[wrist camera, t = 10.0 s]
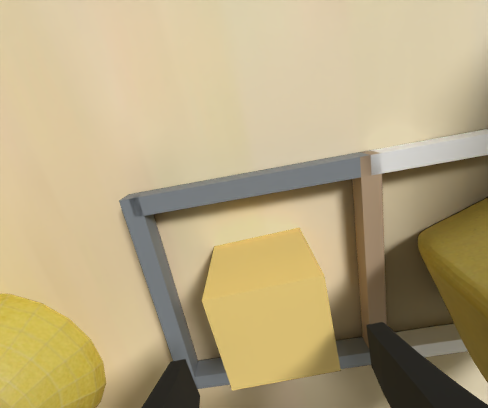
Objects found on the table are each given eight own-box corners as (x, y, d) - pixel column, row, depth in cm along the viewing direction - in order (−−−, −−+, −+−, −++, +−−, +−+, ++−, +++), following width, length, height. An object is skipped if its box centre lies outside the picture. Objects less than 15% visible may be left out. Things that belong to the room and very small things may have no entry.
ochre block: (298, 227, 15) (324, 275, 11) (313, 299, 17) (340, 370, 12) (214, 245, 16) (201, 300, 11) (235, 315, 17) (232, 390, 12)
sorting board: (615, 105, 13) (650, 104, 12) (569, 319, 17) (592, 333, 16) (128, 194, 15) (118, 200, 13) (187, 374, 18) (183, 391, 17)
